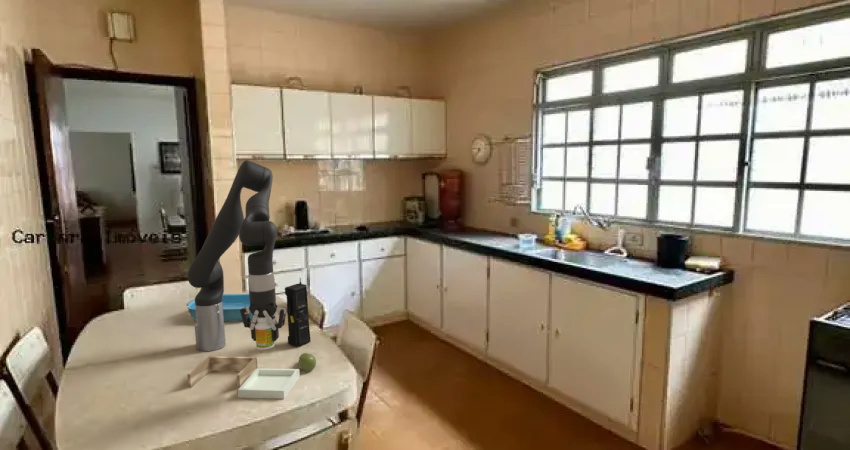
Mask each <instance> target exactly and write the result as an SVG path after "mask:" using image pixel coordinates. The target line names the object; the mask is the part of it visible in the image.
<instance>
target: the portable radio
mask: <svg viewBox="0 0 850 450" xmlns="http://www.w3.org/2000/svg"><path fill="white" fill-rule="evenodd" d="M301 281H302V278H299V283H295V284H292V285H289V286H286V287H284V295H285V297H286V308H287V310H286V314H287V324H288V325H287V326H288V327H287V328H288V329H287V330H288V336H287V344H288V345H289V346H292V347H296V348H300V347H302V346H304V345H306V344H308V343H310V342H311V341H312V340H311V331H310V329H311V328H310V320H309V319H310V318H309V304H308V288H307V285H308V284H303V283H302V282H301Z"/></svg>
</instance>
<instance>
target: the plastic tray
mask: <svg viewBox="0 0 850 450" xmlns="http://www.w3.org/2000/svg"><path fill="white" fill-rule="evenodd" d="M300 377H301V376H300V369H299V368H263V367H261V368H259V367H257V369H256V370H255V371H254V373H253V374H252V375H251V376H250V377H249V378H248V379H247V380H246V381H245V382H244V384H243V385H242V386H241V387H240V388H239V389H238V388H237V394H238V395H237V396H238V398H243V399H244V398H245V399H247V398H248V399H283V400H284V399H286V397H287V395H288V394H289V393H290V391H291V390H292V388H293V387H294V385H295V384H296V383H297V381H298V379H300Z"/></svg>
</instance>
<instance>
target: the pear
mask: <svg viewBox="0 0 850 450" xmlns="http://www.w3.org/2000/svg"><path fill="white" fill-rule="evenodd" d="M316 364H317V359H316V356H314V355H313V354H311V353H308V352H303V353H301V354H300V355H299V357H298V365H299V367H300V369H301V370H303V371H304V372H310V371H312V370H314V369H315V367H316Z"/></svg>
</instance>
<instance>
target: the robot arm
mask: <svg viewBox="0 0 850 450" xmlns="http://www.w3.org/2000/svg"><path fill="white" fill-rule="evenodd" d="M272 186H273V172H272V170H271V169H270V168H268V167H266V166H263V165H261V164H259V163H257V162H256V163H255V162H253V161H250V160H249V159H248V160H244V161H242V163H241V165H239V168H238V169H237V173H236V175H235V176H234V179H233V181H232V183H231V187H230V189H229V192H228V194H227V196H226V198H225V199H224V200H225V201H224V202H223V205H222V206H221V208H220V210H219V212H218V214H217V216H216V218H215V220H214V222H213V224H212V226H211V228H210V231H209V233H208V235H207V237H206V239H205V240H204V243H203V245H202V247H201V249H200V250H199V252H198V254H197V256H196V257H195V259H194V260H193V261H192V263H191V264H190V266H189V268H188V271H187V281H188V283H189V285H190V286H191V287H193V288H196V289H200V290H199V292H198V293H197V294H196V295H195V297H194V299H195V308H196V319H197V320H196V323H195V324H194V335H195V346H196V350H200V351H202V352H210V351H211V352H212V351H217V350H220V349H222V348H224V347H225V346H226V344H227V343H226V331H225V321H224V316H223V304H222V296H223V294H224V291H225V288H224V287H225V286H224V285H225V284H224V282H225V281H224V277H225V276H224V270H223V266H222V264H221V263H220V262H219V259H220V258H221V257H222V256H223V255H224V254H225V253H226V251H228V249H230V248H231V246H232V245H233V244H234V243H235V242H236V241H237V239H238V237H239V241H240V242H241V243H242V244H243V245H244V246H248V247H251V246H252V247H253V246H263V245H264V248H263V249H262V250H259V251H255V252H252V253H250V254H249V255H248V257H247V270H248V281H247V282H248V285H247V286H248V294H249V299H250V306H249V307H246V306H245V307H243V308H242V309H241V310H240V313H241V316H242V320H243V321H242V324H243V326H244V328H249V329H250V337H251V340H252V341H253V342H256V334H255V325H256V323H258V322H257V318H258V317H266V319H267V321H268V323H269V324H270V325H271V327H272V329H273V330H272V341H275V342H276V341H277V340H278V339H279V337H280V332H279V331H280V330H279V329H282V328H283V326H285V324H286V323H285V322H286V318H287V317H286V315H287V306H285V307H284V306H283V307H278V305H277V298H276V297H277V295H276V281H275V280H276V279H275V274H274V262H273V260H274V259H273V258H274V248H275V244H276V240H277V235H278V227H277V225H276V224H275V222H273V221H270V216H271V215H270V205H269V204H270V198H271V192H272ZM243 189H247V190H250V191H253V192H256V193H255V194H253V195H251V196H250V197H249V198H248V200H247V201H246V203H245V216H244V211H243V207H242V202H241V194H242V190H243ZM250 312H251V313H252V314H253V315H254V316H253V319H252V320H251V319H250V316H249V313H250ZM276 312H277V314H278V320H277V316H276Z"/></svg>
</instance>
